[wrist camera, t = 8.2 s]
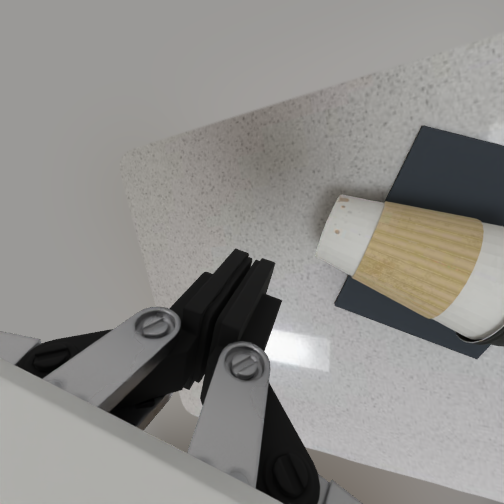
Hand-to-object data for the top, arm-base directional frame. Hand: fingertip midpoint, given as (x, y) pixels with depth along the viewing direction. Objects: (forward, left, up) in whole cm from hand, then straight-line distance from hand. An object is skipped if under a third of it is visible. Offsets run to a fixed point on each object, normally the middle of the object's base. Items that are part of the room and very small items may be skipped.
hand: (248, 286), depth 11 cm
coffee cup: (+2, +3, -16) cm, 16 cm away
